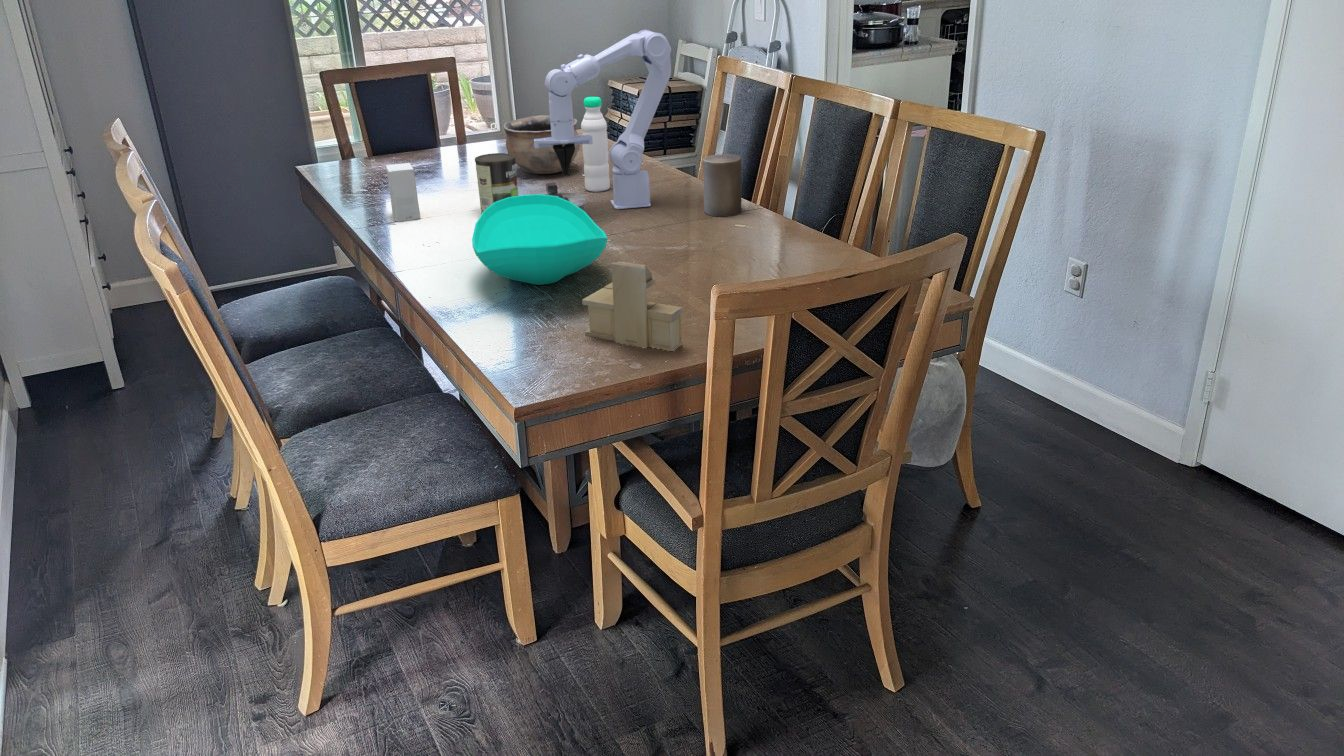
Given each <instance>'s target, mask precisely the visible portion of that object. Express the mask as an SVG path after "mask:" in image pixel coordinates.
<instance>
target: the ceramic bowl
mask: <svg viewBox="0 0 1344 756" xmlns="http://www.w3.org/2000/svg"><path fill="white" fill-rule="evenodd" d="M577 119H578V118H573V123H574V135H579V133H578V131H577V126H578V120H577ZM502 126H503V129H504V132H505V135H506V136H505V137H506V138H505V149H506V151H507V154H513V155H515V164H516V166H518V167H519V168H520V169H521V170H523V171H524V172H526V173H527V174H534V175H550V174H557V173H561V172H562V168H561V165H560V162H559V159H558V157H557V155H556V153H555V151H554V149H553V147H539V148H535V147H534V139H541V138H547V137H552V136H551V123H550V114H548V115H532V116H528V117H527V116H526V117H523V118H520V119H519V118H518V119H513V120H510V121H507V122H504V124H503V125H502ZM580 146H581V144H579V145H575V152H574V154H573V156H572V159H571V163H570V165H572V163H573V162H574V161H575V158H576V157H577V154H578V152H579V151H580Z"/></svg>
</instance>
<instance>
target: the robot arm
mask: <svg viewBox="0 0 1344 756" xmlns="http://www.w3.org/2000/svg"><path fill="white" fill-rule="evenodd" d="M671 53H672V47H671V45H670V43H669V40H668V39H667V37H666V36H665V35H664V34H663V33H660V32H655V31H651V30H649V29H642V30H640V31H638V32H637V33H632V34H630V35H629V36H626V37H625V38H623V39H620V41H618V42H616V43H615V44H612V46H610V47H607V48H606V49H604V50H603V51H600V52H599V53H598V54H596V55H591V54H582V53H581V54H579V55H577V59H575V60H572V61H571V62H569V63H567V64H564V63H563V64H560V68H559V69H558V68H554V69H552V70H550V71H549V72H547V75H546V76H545V80H544V86H545V88H546V89H547V90H548V109H549V116H550V123H551V136H552V137H547V138H541V139H534V147H535V148H539V147H553V149H554V151H555V153H556V155H557V157H558V159H559V162H560V165H561V168H562V171H561V172H562V175H563V176H569V175H570V167H571V164H572V163H571V159H572V156H573V154H574V152H575V145H579V144H580V145H582V144H593V141H592V136H591V135H582V134H578V135H574V123H573V119H574V111H573V101H572V92H573V90H574V88H577V87H579V86H582V85H583V84H586V83H587V82H588V81H590V80H592V79H594V78H596V77H598V75H599V73H600V70H601V69H602V68H604V67H606V66H609V65H611V64H613V63H616V62H618V61H619V60H622V59H624V58H627V57H628V56H633V57H640V58H641V59H642V60H643V61H644V64H645V67H646V69H647V71H648V75H647V77H646V80H645V83H644V84H643V87H642V89H641V92H640V94H639V96H638V99H637V102H636V104H635V107H634V108H633V111H632V112H631V113H632V114H631V116H630V118H629V121H628V123H627V125H626V128H625V130H624V132H622V133H621V134H620V135H619V136H618V139H617V140H616V142H615V143H614V144H613V145H612V146H611V147H610V150H608V159H609V160H610V162H611V163H612V164H613V167H612V169H611V171H612V173H611V174H612V186H613V187H612V190H613V191H612V192H613V199H610V204H611V205H612V206H613V209H615V210H622V209H623V210H624V209H636V208H645V207H646V208H647V207H651V205H652V204H651V190H650V189H651V187H650V176H649V172H648V170H647V169H641V167H642V165H643V153H644V151H645V140H644V139H646V138H645V137H646V135H647V133H648V130H649V129H650V127H651V124H652V121H653V118H654V116H655V114H656V111H657V110H658V106H659V104H660V103H661V100H662V97H663V95H664V92H665V90H666V87H667V86H668V83H669V81H670V78H671V76H672V60H671ZM570 163H571V164H570Z"/></svg>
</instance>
